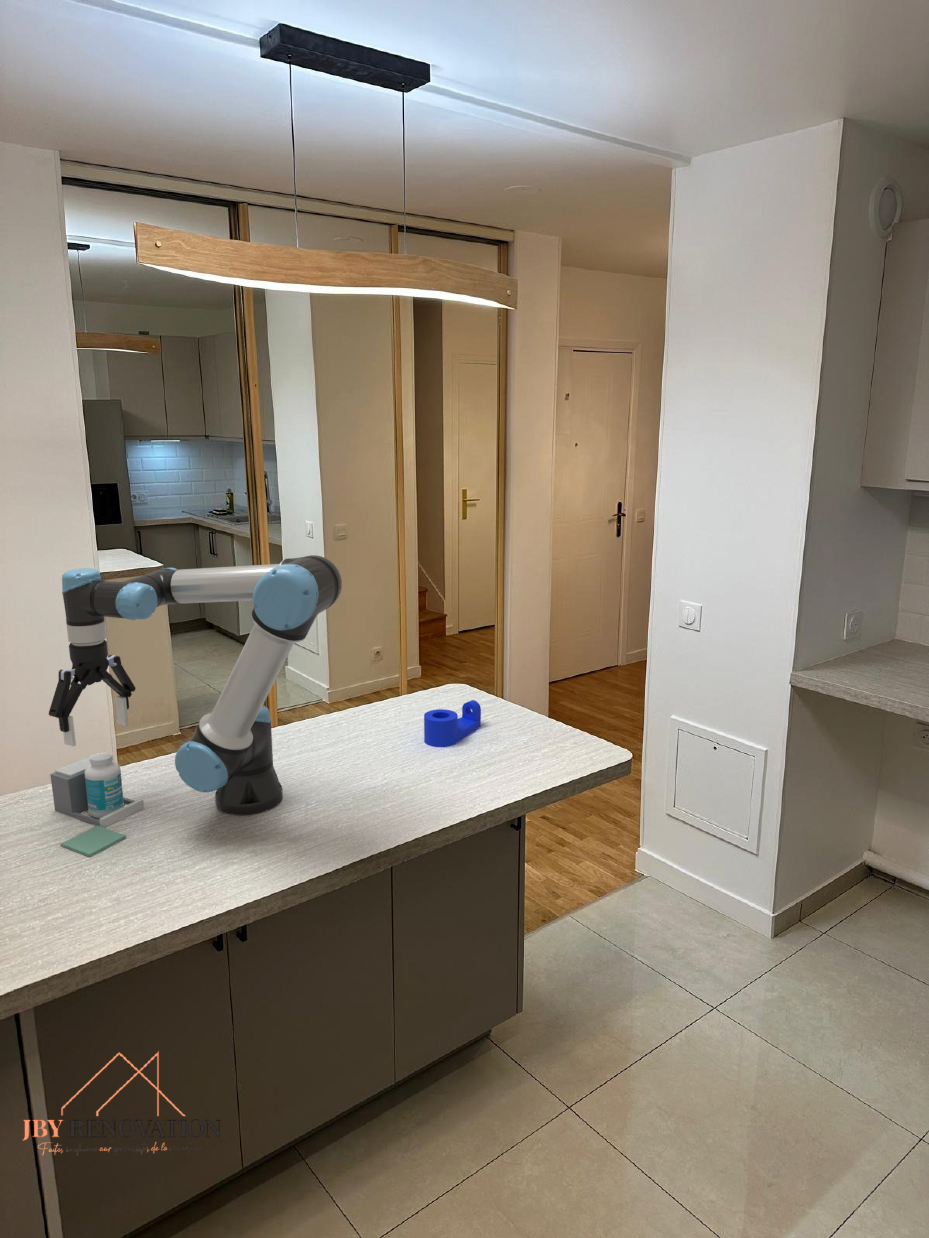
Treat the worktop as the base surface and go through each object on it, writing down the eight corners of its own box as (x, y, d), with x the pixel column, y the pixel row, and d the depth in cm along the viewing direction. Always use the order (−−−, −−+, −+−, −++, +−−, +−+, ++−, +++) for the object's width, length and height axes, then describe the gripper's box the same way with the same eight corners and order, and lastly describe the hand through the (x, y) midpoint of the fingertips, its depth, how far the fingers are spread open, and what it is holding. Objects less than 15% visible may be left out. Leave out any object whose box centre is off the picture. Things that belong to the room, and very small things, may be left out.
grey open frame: (144, 807, 194) (140, 768, 192) (103, 828, 185) (98, 787, 182) (96, 792, 202) (92, 754, 199) (55, 810, 192) (49, 771, 190)
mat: (126, 837, 181) (125, 835, 181) (89, 857, 173) (89, 854, 173) (97, 827, 185) (97, 825, 185) (60, 846, 177) (60, 843, 177)
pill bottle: (111, 821, 188) (105, 764, 185) (81, 817, 189) (75, 761, 186) (131, 805, 195) (125, 750, 192) (102, 802, 196) (96, 748, 193)
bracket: (443, 750, 227) (443, 723, 225) (417, 742, 232) (417, 716, 230) (487, 729, 242) (487, 703, 240) (461, 721, 247) (461, 696, 245)
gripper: (123, 626, 195) (132, 713, 200) (22, 653, 173) (34, 750, 179) (146, 630, 191) (154, 719, 196) (46, 658, 170) (58, 757, 175)
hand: (97, 734), depth 188 cm, fingers open, 13 cm apart
